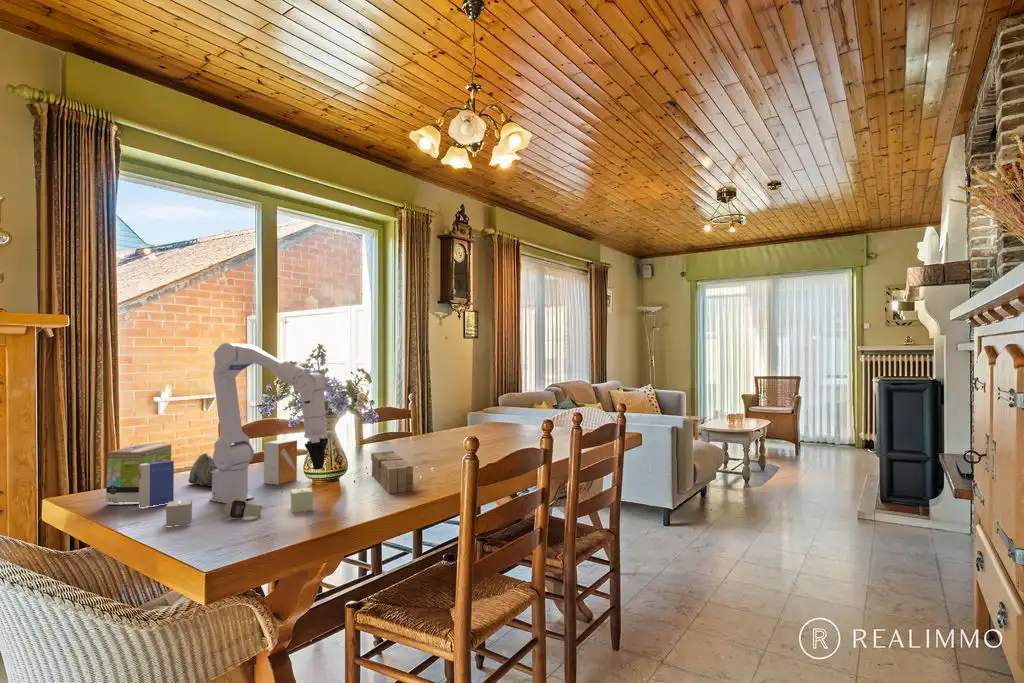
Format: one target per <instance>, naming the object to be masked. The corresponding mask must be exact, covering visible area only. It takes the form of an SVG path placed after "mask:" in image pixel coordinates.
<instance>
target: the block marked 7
mask: <svg viewBox="0 0 1024 683" xmlns="http://www.w3.org/2000/svg"><path fill="white" fill-rule="evenodd" d="M313 494H314V492H313V490H312V487H304V488H292V489H290V510H291V509H292V510H291V512H295V513H300V512H299V511H304V512H308V511H307V510H313V508H314V504H313V502H314V501H313V500H314V495H313ZM313 511H314V510H313Z"/></svg>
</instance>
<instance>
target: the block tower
mask: <svg viewBox="0 0 1024 683" xmlns="http://www.w3.org/2000/svg"><path fill="white" fill-rule="evenodd" d="M370 457H371V458H370V460H371V477H372V478H373V477H374V478H373V479H374V480H375V481H376V482H377V483H378V484H381V485H382V486H383V487H382V486H381V487H382V488H383V489H384V490H385V489H386V490H385V491H386V492H387V494H388V493H394V494H398V493H397V492H404V493H406V492H407V491H406V490H412V489H413V490H414V466H413V464H411V463H410V462H408V461H406V460H405V459H404V458H403V457H401V456H400V455H398V454H397V453H396V452H395V451H394V450H388V451H387V450H386V451H377V452H371V453H370ZM413 490H412V491H413ZM405 491H406V492H405Z"/></svg>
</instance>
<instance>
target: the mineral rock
mask: <svg viewBox="0 0 1024 683" xmlns="http://www.w3.org/2000/svg"><path fill="white" fill-rule="evenodd" d="M217 469H218V468H217V467H216V466H215V464H214V462H213V457H212V456H210V455H208V453H202V454H200V455H199V456H198V457H197V458H196V460H195V461H194V463H193V465H192V467H191V470H190V472H189V478H188V483H189V484H191V483H195V484H194V485H196V484H200V485H199V486H203V485H212V476H213V474H214V472H215V471H216V470H217Z"/></svg>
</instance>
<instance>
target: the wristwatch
mask: <svg viewBox="0 0 1024 683" xmlns="http://www.w3.org/2000/svg"><path fill="white" fill-rule="evenodd" d="M262 509H263V505H257V504H252V503H248V502H247V500H245V499H243V500H240V499H238V498H237V499H235V500H234V501H233V502H226V503H225V505H224V509H223V513H224V514H226V515H227V516H229V517H230V519H231V520H238V519H241V520H242V519H244V518H247V517H260V516H261V515H262V514H261V513H262Z"/></svg>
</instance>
